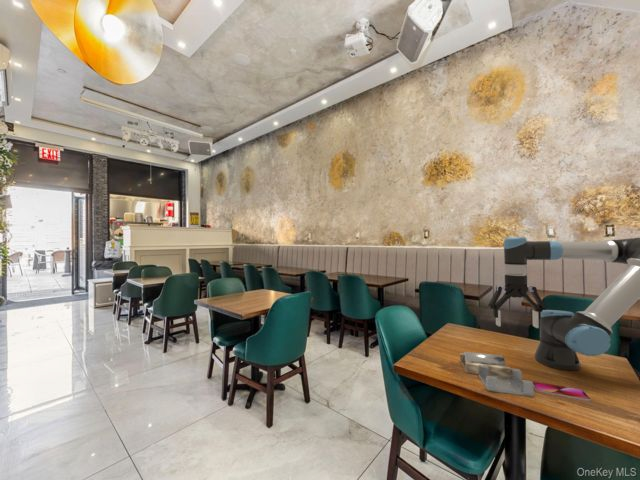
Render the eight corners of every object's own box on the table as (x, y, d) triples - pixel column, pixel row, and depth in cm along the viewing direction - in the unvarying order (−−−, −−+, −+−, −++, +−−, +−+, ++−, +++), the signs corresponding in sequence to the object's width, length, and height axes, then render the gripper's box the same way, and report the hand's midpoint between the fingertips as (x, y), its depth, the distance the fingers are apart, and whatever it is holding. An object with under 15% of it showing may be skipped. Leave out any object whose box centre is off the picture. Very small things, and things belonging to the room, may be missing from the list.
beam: (500, 366, 119) (500, 357, 119) (511, 379, 108) (511, 369, 108) (459, 361, 123) (459, 352, 123) (466, 373, 112) (466, 364, 112)
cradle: (519, 380, 106) (519, 369, 106) (533, 396, 95) (533, 383, 95) (478, 376, 109) (478, 364, 109) (487, 390, 99) (488, 378, 99)
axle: (500, 368, 116) (499, 353, 117) (505, 373, 111) (504, 357, 112) (463, 364, 120) (463, 350, 121) (467, 368, 114) (466, 353, 115)
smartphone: (530, 380, 105) (582, 389, 99) (530, 383, 105) (582, 391, 99) (536, 390, 98) (592, 400, 92) (536, 393, 98) (592, 403, 92)
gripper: (545, 273, 114) (546, 324, 114) (478, 273, 119) (480, 322, 119) (556, 275, 106) (557, 330, 106) (485, 275, 111) (486, 327, 111)
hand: (516, 326), depth 112 cm, fingers open, 13 cm apart
